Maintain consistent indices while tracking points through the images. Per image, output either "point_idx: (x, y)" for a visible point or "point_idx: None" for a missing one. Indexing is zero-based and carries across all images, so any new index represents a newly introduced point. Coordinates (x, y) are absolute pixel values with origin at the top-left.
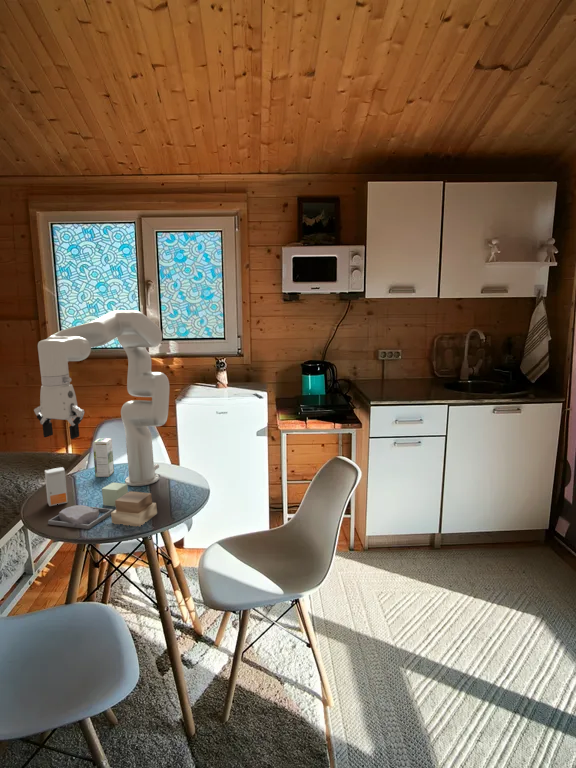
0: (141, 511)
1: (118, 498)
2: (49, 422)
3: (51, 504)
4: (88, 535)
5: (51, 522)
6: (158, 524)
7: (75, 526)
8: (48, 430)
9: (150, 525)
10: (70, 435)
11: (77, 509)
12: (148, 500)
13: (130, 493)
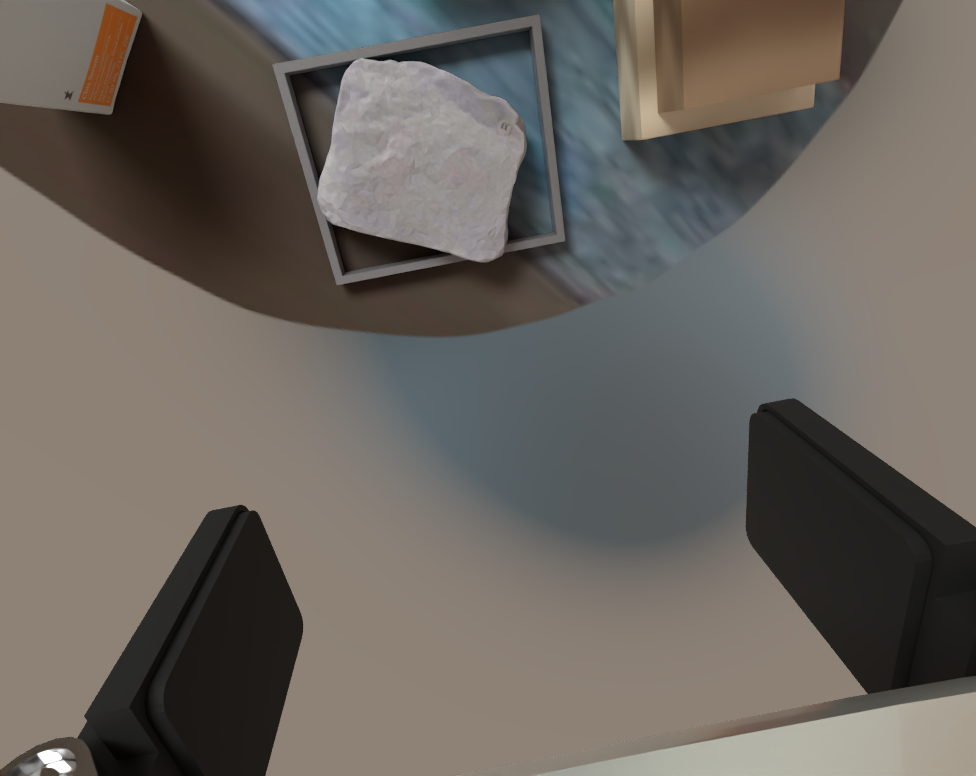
0: None
1: (683, 70)
2: (152, 759)
3: (110, 104)
4: (604, 282)
5: (356, 279)
6: (856, 45)
7: None
8: (255, 651)
9: None
10: (785, 578)
11: (408, 166)
12: None
13: None
